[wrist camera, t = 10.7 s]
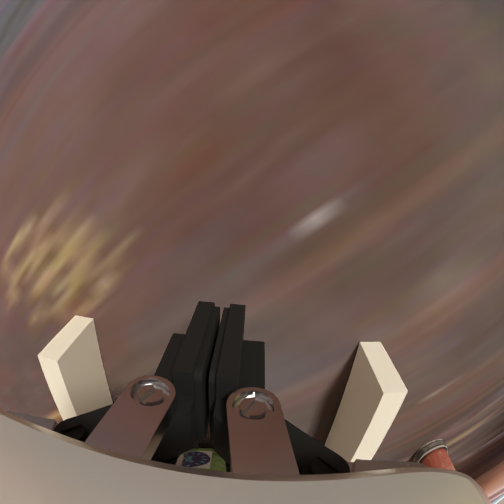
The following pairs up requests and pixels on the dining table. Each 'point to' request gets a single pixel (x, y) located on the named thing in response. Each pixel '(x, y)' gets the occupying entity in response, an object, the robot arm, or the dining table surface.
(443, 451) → the lighter
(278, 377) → the dining table surface
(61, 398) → the box
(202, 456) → the beverage can
